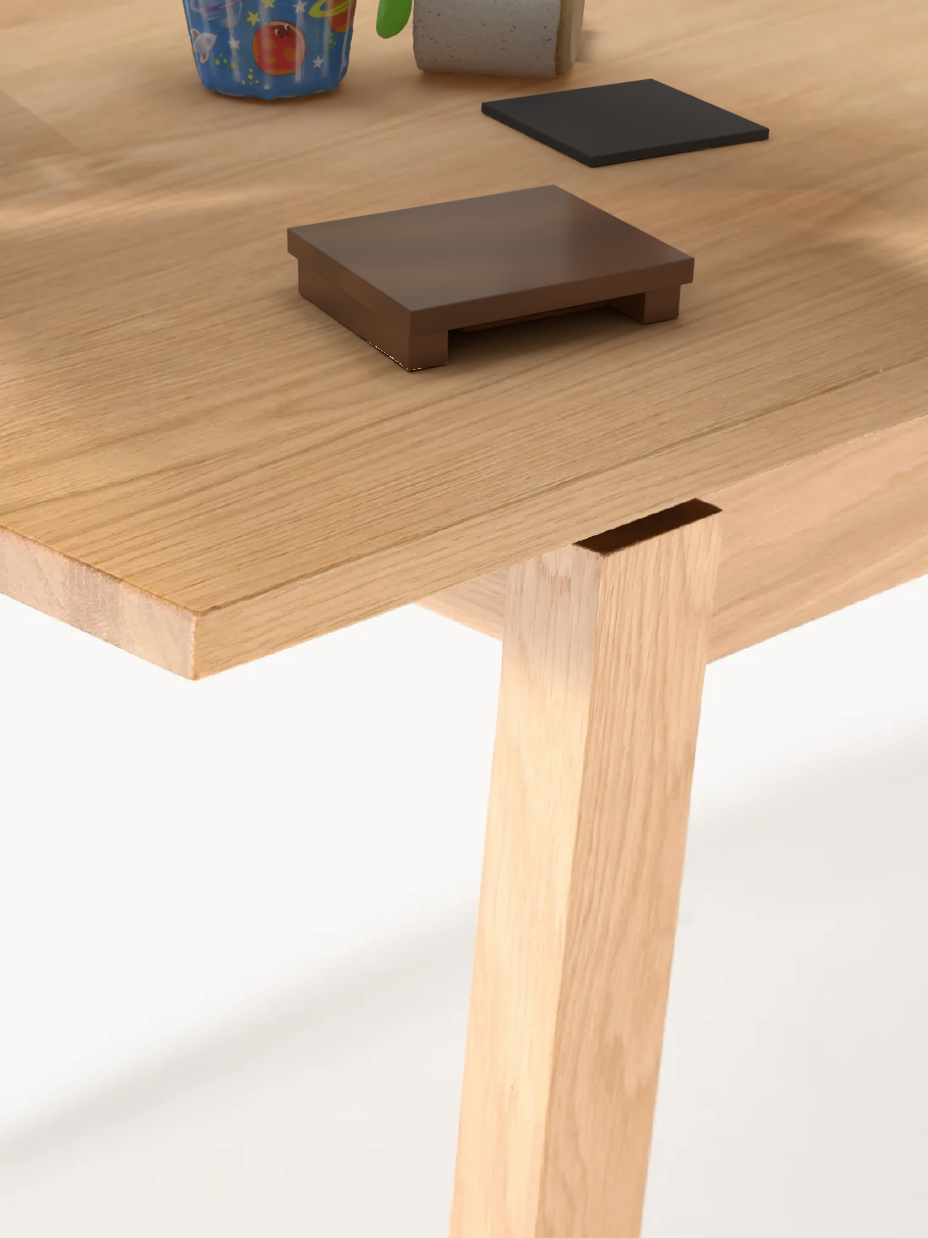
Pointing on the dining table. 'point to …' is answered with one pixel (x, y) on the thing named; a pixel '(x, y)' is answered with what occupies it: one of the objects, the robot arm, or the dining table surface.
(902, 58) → the dining table surface
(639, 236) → the low wooden stand
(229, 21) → the snack cup
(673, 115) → the mat
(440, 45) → the ceramic mug
